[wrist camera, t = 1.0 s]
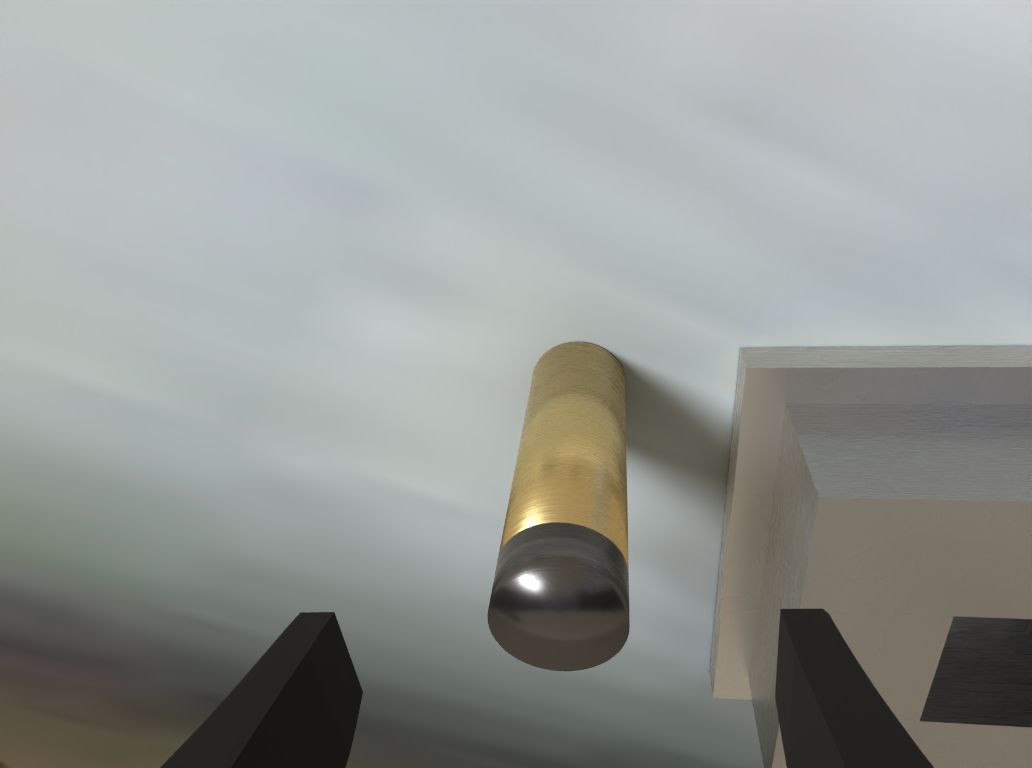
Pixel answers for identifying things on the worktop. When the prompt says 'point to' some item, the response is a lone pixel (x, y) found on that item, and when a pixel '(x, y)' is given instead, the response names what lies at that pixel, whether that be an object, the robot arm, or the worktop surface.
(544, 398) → the brass cylinder rod
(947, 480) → the chuck block
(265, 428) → the worktop surface
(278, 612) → the worktop surface
